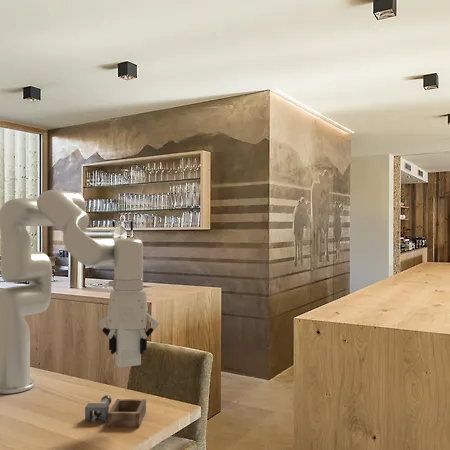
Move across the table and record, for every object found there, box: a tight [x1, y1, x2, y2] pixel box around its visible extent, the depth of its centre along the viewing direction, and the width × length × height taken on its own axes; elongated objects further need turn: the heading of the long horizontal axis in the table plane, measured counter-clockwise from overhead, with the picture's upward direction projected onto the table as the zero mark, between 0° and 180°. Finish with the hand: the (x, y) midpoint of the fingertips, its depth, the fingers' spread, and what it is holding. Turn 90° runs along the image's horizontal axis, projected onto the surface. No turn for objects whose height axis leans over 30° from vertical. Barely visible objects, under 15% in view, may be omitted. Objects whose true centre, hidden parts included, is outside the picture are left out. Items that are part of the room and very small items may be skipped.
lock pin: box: [93, 395, 112, 417], centre depth 131 cm, size 3×9×3 cm, turn 0°
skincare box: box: [115, 322, 142, 368], centre depth 126 cm, size 6×4×12 cm
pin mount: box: [84, 402, 110, 423], centre depth 126 cm, size 5×3×4 cm, turn 90°
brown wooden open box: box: [107, 398, 147, 428], centre depth 126 cm, size 8×10×4 cm
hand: (128, 352), depth 126 cm, fingers closed on skincare box, 7 cm apart
